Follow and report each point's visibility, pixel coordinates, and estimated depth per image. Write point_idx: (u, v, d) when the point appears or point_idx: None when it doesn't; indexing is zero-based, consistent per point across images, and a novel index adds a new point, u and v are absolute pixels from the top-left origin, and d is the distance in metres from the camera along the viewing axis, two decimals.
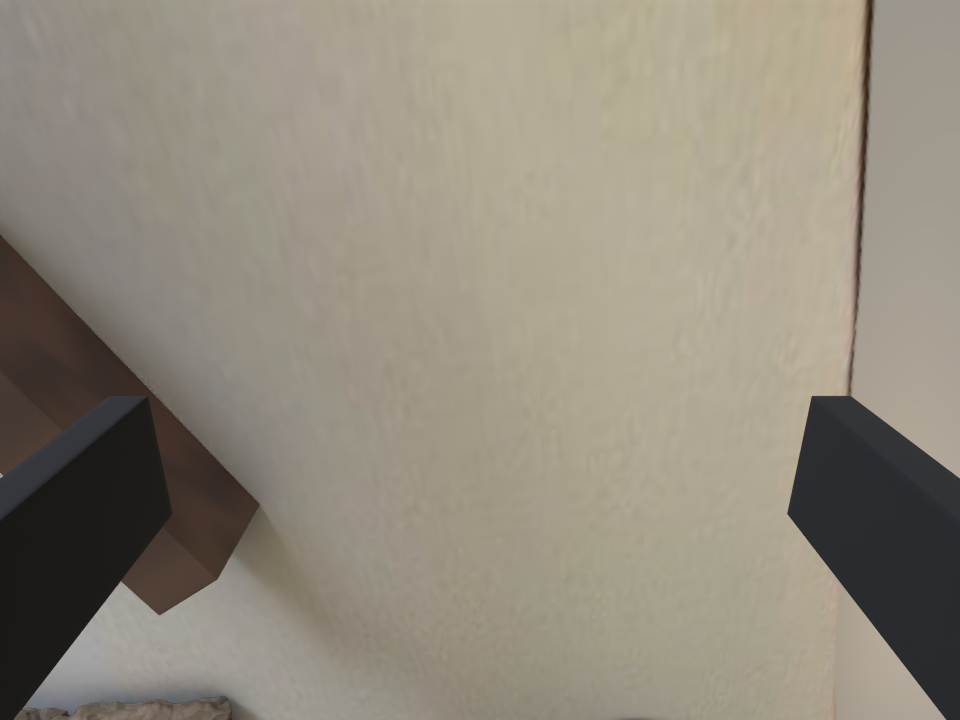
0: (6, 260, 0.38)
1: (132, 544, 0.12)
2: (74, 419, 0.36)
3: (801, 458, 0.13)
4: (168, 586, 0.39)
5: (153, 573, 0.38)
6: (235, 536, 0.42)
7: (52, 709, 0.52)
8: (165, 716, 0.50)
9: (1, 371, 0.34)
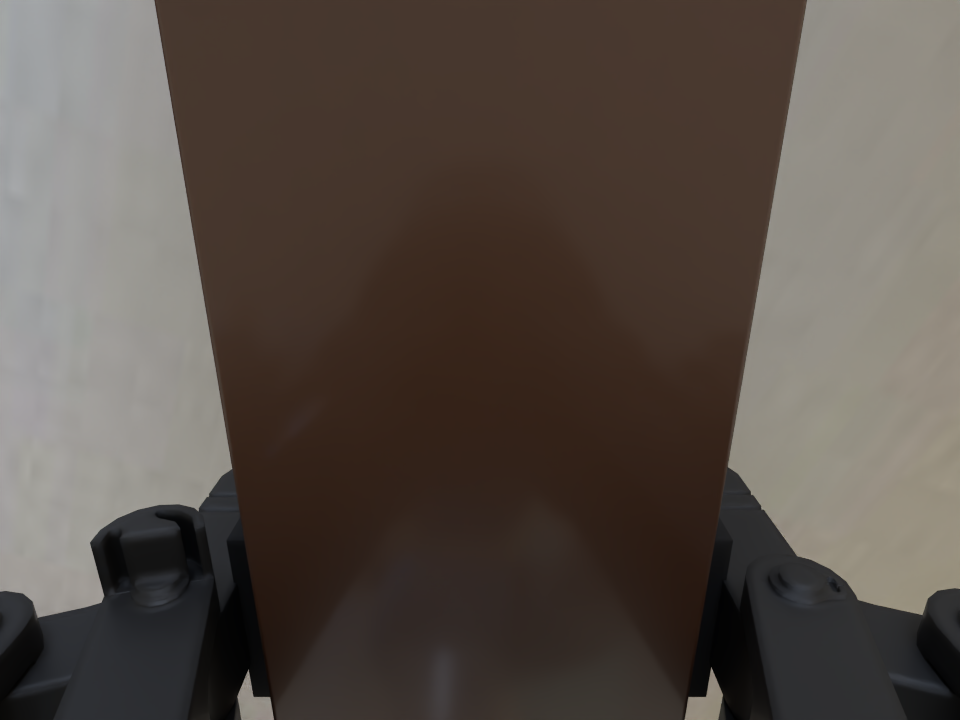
0: None
1: None
2: None
3: None
4: None
5: None
6: None
7: None
8: None
9: None
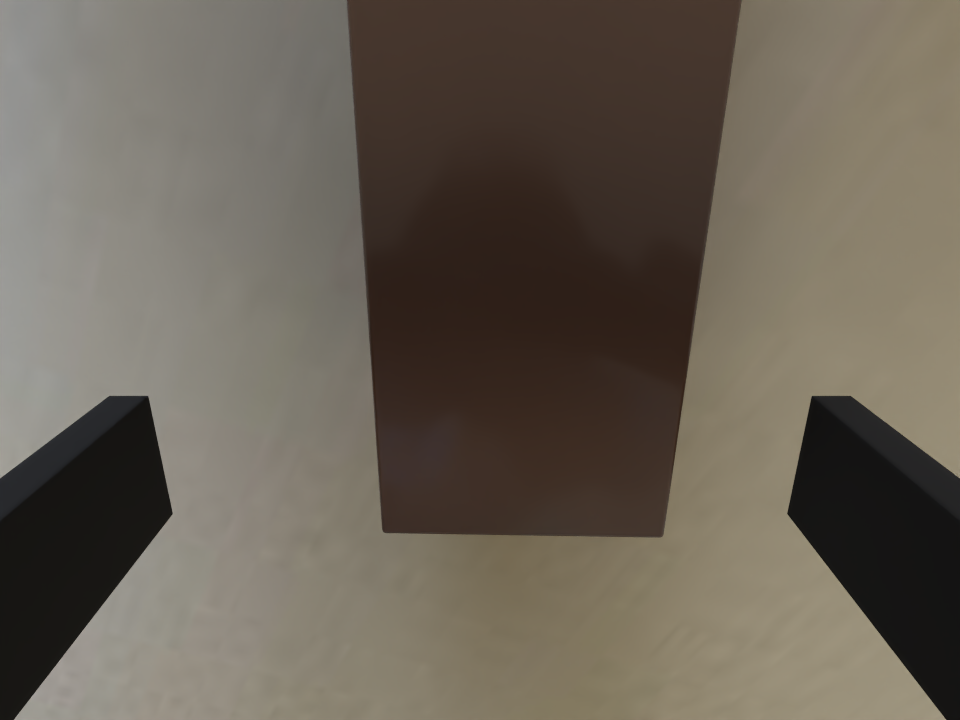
0: None
1: (132, 543, 0.12)
2: None
3: (801, 458, 0.13)
4: (502, 472, 0.11)
5: (502, 409, 0.10)
6: None
7: None
8: None
9: None
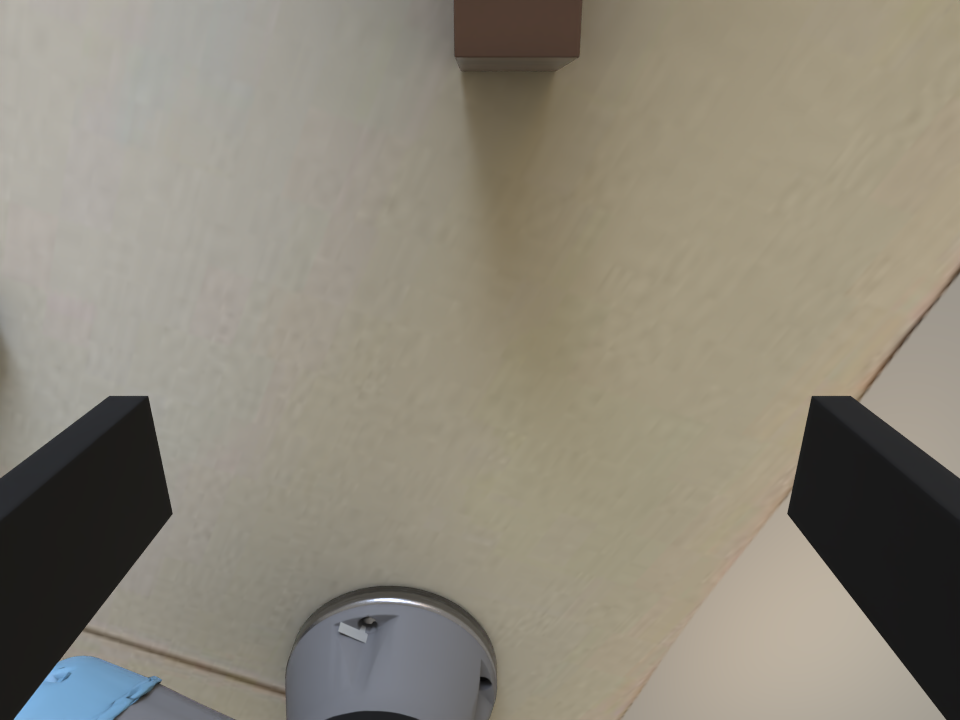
0: None
1: (132, 544, 0.12)
2: None
3: (801, 458, 0.13)
4: (508, 19, 0.25)
5: None
6: None
7: None
8: None
9: None
